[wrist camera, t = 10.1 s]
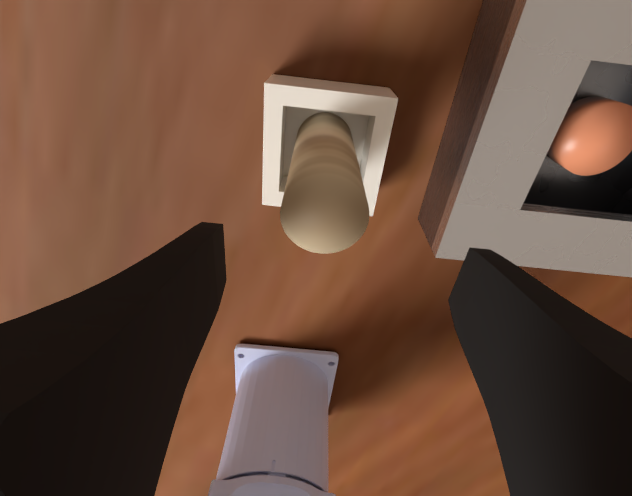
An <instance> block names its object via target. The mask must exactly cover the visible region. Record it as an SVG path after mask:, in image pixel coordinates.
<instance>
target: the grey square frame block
mask: <svg viewBox="0 0 632 496" xmlns="http://www.w3.org/2000/svg"><path fill="white" fill-rule="evenodd" d="M592 96H600V97H605V98H608V99H612V100H615V101H618V102H622V103H625V104H628V105H630V106H632V0H483V3H482V6H481V9H480V13H479V16H478V19H477V23H476V26H475V29H474V33H473V36H472V40H471V43H470V46H469V50H468V53H467V56H466V60H465V63H464V66H463V70H462V73H461V76H460V80H459V83H458V86H457V90H456V93H455V96H454V100H453V103H452V106H451V110H450V113H449V116H448V120H447V123H446V126H445V130H444V133H443V136H442V140H441V143H440V146H439V150H438V153H437V156H436V160H435V163H434V166H433V170H432V173H431V176H430V180H429V183H428V186H427V190H426V193H425V196H424V200H423V203H422V206H421V210H420V213H419V217H418V220H419V222H420V224H421V227H422V229H423V231H424V233H425V236H426V238H427V240H428V242H429V245H430V247H431V249H432V251H433V254H434V256H435V258H445V259H455V260H465V257H466V255H467V252H468V250H469V248H480V249H490V250H492V251H494V252H496V253H498V254H499V255H501V256H503V257H504V258H506V259H507V260H509V261H510V262H512V263H513V264H515V265H516V266H525V267H535V268H545V269H555V270H565V271H574V272H584V273H594V274H604V275H614V276H624V277H632V151H631V152H630V153H629V154H628V155H627V156H626V158H625V159H623V160H622V161H621V162H620V163H618V164H617V165H616V166H614V167H612V168H611V169H609V170H607V171H605V172H602V173H599V174H596V175H589V176H581V175H576V174H573V173H572V172H570V171H568V170H567V169H565V168H564V167H562V166H560V165H559V164H557V163H556V162H554V161H553V160H552V159H551V158H550V157H549V156H548V154H547V152H548V150H549V148H550V146H551V144H552V142H553V140H554V138H555V136H556V133H557V131H558V129H559V127H560V125H561V123H562V121H563V119H564V117H565V114H566V112H567V110H568V108H569V106H570V104H572V103H574V102H575V101H578V100H580V99H583V98H586V97H592Z"/></svg>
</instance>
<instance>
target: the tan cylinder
mask: <svg viewBox="0 0 632 496" xmlns="http://www.w3.org/2000/svg"><path fill="white" fill-rule="evenodd" d="M280 219H281V224H282V227H283V229H284V231H285V233H286V234H287V236H288V237H289V238H290V239H291V240H292V241H293V242H294V243H295V244H296V245H298V246H299V247H301V248H303V249H305V250H308V251H311V252H314V253H324V254H326V253H335V252H339V251H342V250H344V249H346V248H348V247H350V246H352V245H353V244H354V243H356V242H357V241H358V240H359V239H360V237H361V236H362V235H363V233H364V232H365V230H366V228H367V225H368V222H369V206H368V202H367V198H366V193H365V189H364V185H363V181H362V176H361V172H360V168H359V164H358V159H357V155H356V151H355V147H354V142H353V138H352V134H351V131H350V128H349V126H348V125H347V123H346V122H345V121H344V120H343V119H342V118H341V117H339V116H338V115H336V114H333V113H329V112H320V113H316V114H313V115H311V116H310V117H308V118H307V119H306V120H305V121H304V122H303V123H302V124H301V126H300V128H299V130H298V133H297V137H296V142H295V146H294V151H293V155H292V160H291V164H290V169H289V173H288V177H287V182H286V186H285V191H284V195H283V200H282V204H281V210H280Z"/></svg>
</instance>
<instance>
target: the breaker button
mask: <svg viewBox="0 0 632 496" xmlns="http://www.w3.org/2000/svg"><path fill="white" fill-rule="evenodd" d="M631 151H632V106H630V105H628V104H625V103H622V102H618V101H615V100H612V99H608V98H605V97H600V96H592V97H586V98H583V99H580V100H578V101H575V102H574V103H572V104H570V106H569V108H568V110H567V112H566V114H565V117H564V119H563V121H562V123H561V125H560V127H559V129H558V131H557V133H556V136H555V138H554V140H553V142H552V144H551V146H550V148H549V150H548V152H547V154H548V156H549V157H550V158H551V159H552V160H553V161H554V162H556V163H557V164H559V165H560V166H562V167H564V168H565V169H567V170H568V171H570V172H572V173H573V174H576V175H581V176H589V175H596V174H599V173H602V172H605V171H607V170H609V169H611V168H612V167H614V166H616V165H617V164H618V163H620V162H621V161H622V160H623V159H625V158H626V156H627V155H628V154H629V153H630V152H631Z"/></svg>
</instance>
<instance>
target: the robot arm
mask: <svg viewBox="0 0 632 496" xmlns="http://www.w3.org/2000/svg"><path fill="white" fill-rule="evenodd" d="M225 283H226V265H225V248H224V231H223V224H217V223H206V222H201V223H199V224H198V225H196V226H194V227H193V228H191V229H190V230H188V231H187V232H185V233H184V234H182V235H181V236H179V237H178V238H176V239H175V240H173V241H172V242H170V243H168V244H167V245H165V246H164V247H162V248H161V249H159V250H158V251H156V252H155V253H153V254H151V255H150V256H148V257H146V258H144V259H143V260H141V261H139V262H138V263H136V264H134V265H132V266H131V267H129V268H127V269H126V270H124V271H122V272H120V273H119V274H117V275H115V276H113V277H111V278H109V279H107V280H105V281H103V282H101V283H99V284H97V285H95V286H93V287H91V288H89V289H86V290H84V291H82V292H80V293H78V294H76V295H73V296H71V297H69V298H66V299H64V300H61V301H59V302H56V303H54V304H51V305H49V306H46V307H44V308H41V309H39V310H36V311H34V312H31V313H29V314H26V315H24V316H21V317H18V318H16V319H13V320H10V321H7V322H4V323H1V324H0V496H154V495H155V491H156V487H157V484H158V480H159V476H160V472H161V469H162V465H163V462H164V458H165V455H166V451H167V448H168V444H169V441H170V437H171V434H172V431H173V427H174V424H175V421H176V417H177V414H178V411H179V408H180V404H181V401H182V398H183V395H184V391H185V389H186V386H187V383H188V381H189V378H190V375H191V373H192V371H193V368H194V366H195V363H196V361H197V359H198V356H199V354H200V352H201V349H202V347H203V345H204V342H205V340H206V338H207V335H208V333H209V331H210V328H211V326H212V324H213V321H214V319H215V316H216V314H217V311H218V309H219V306H220V302H221V299H222V295H223V291H224V287H225ZM448 301H449V305H450V310H451V314H452V319H453V322H454V326H455V330H456V333H457V335H458V338H459V341H460V343H461V346H462V348H463V351H464V353H465V356H466V358H467V361H468V363H469V365H470V368H471V370H472V373H473V375H474V378H475V380H476V383H477V385H478V388H479V390H480V393H481V395H482V397H483V400H484V403H485V406H486V408H487V411H488V414H489V417H490V421H491V424H492V428H493V431H494V435H495V438H496V442H497V445H498V449H499V452H500V456H501V460H502V464H503V468H504V472H505V476H506V480H507V484H508V487H509V492H510V496H632V338H630V337H628V336H626V335H624V334H622V333H621V332H619V331H617V330H615V329H613V328H612V327H610V326H608V325H606V324H605V323H603V322H601V321H600V320H598V319H596V318H595V317H593V316H592V315H590V314H588V313H587V312H585V311H584V310H582V309H580V308H579V307H577V306H576V305H574V304H572V303H571V302H569V301H568V300H566V299H565V298H563V297H562V296H560V295H559V294H557V293H556V292H554V291H553V290H551V289H550V288H548V287H547V286H545V285H544V284H542V283H541V282H540V281H538V280H537V279H535V278H534V277H532V276H531V275H529V274H528V273H526V272H525V271H524V270H522V269H521V268H519V267H518V266H516V265H515V264H513V263H512V262H510V261H509V260H507V259H506V258H504V257H503V256H501V255H499V254H498V253H496V252H494V251H492V250H490V249H480V248H469V250H468V252H467V255H466V257H465V260H464V262H463V265H462V267H461V270H460V272H459V275H458V277H457V280H456V282H455V285H454V287H453V290H452V292H451V295H450V297H449V300H448ZM234 353H235V378H236V398H235V402H234V406H233V411H232V415H231V419H230V423H229V427H228V431H227V436H226V440H225V444H224V448H223V452H222V456H221V461H220V465H219V469H218V473H217V477H216V480H212V481H211V485H210V489H209V493H208V496H336V495H335V494H333V493H328V408H329V403H330V398H331V394H332V389H333V384H334V379H335V375H336V370H337V365H338V360H339V357H338V354H337V353H336V352H330V351H319V350H308V349H297V348H286V347H275V346H263V345H252V344H237V345H236V347H235V350H234Z"/></svg>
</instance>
